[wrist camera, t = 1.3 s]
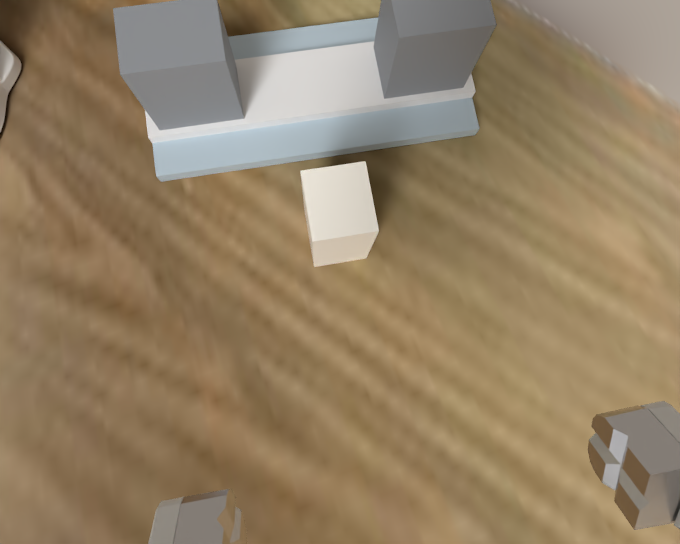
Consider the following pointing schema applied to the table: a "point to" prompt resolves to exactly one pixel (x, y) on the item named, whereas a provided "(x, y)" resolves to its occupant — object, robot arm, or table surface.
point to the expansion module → (339, 212)
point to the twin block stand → (299, 82)
